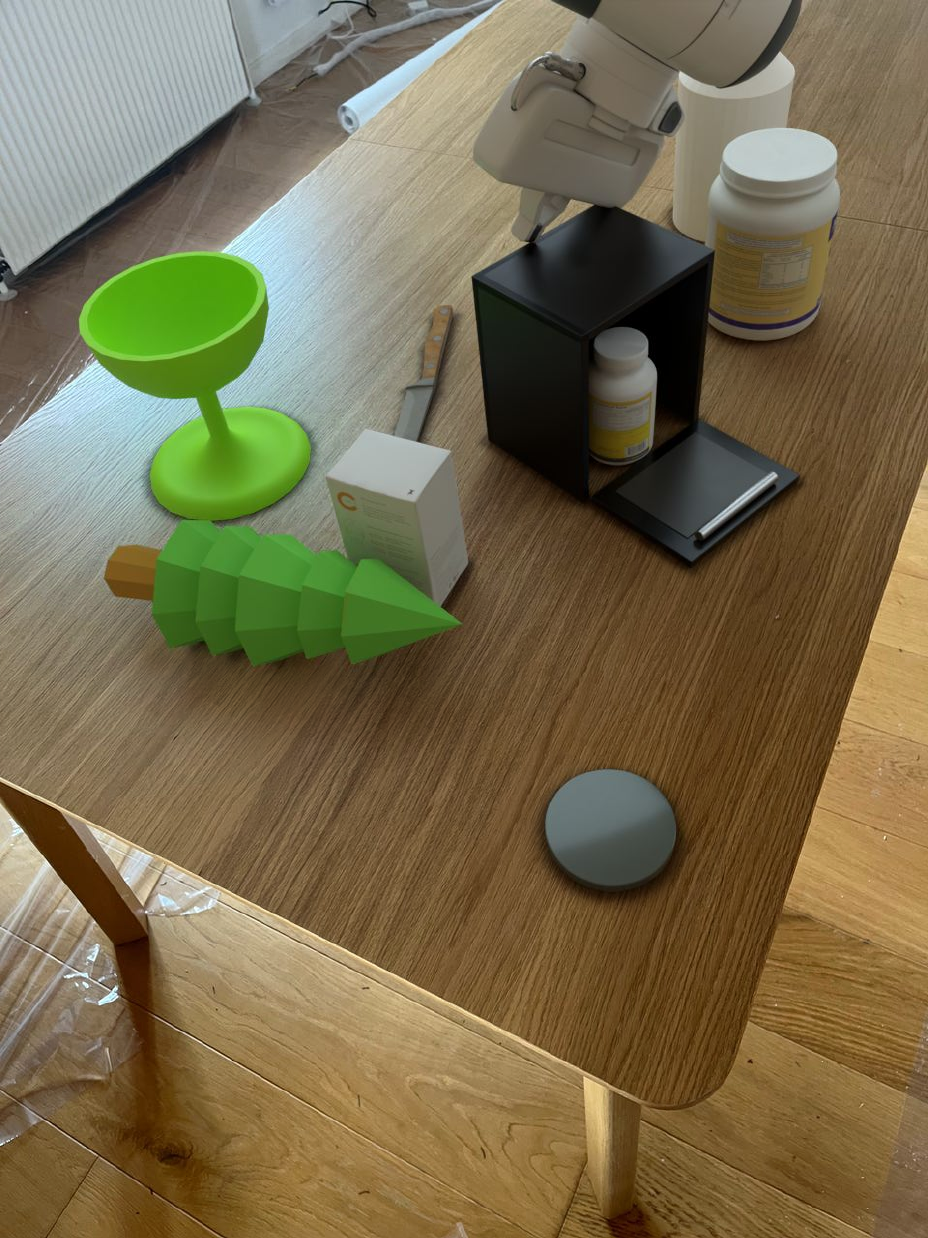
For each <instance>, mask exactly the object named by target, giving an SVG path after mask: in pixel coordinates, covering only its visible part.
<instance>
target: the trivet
mask: <svg viewBox="0 0 928 1238" xmlns="http://www.w3.org/2000/svg"><path fill="white" fill-rule="evenodd" d="M544 836H545V843H546V846H547V850H548V852H549V855H550V856H551V858H552V860H553V862H554V863H555V865H556V866H557V867H558V869H560V870H561V872H563V874H565V875H566V876H567V877H568V878H569V879H571V880H572V881H574V882H575V883H577V884H579V885H581V886H583V887H586V888H588V889H591V890H595V891H599V892H607V893H617V892H626V891H631V890H634V889H637V888H639V887H642V886H644V885H646V884H647V883H649V882H651V881H652V880H654V879H655V878H656V877H658V876H659V875H660V874H661V872H662V871H663V870H664V869H665V868H666V866H667V865H668V863H669V861H670V860H671V858H672V855H673V853H674V851H675V850H674V849H675V845H676V838H677V820H676V817H675V813H674V811H673V808H672V806H671V803H670V802H669V800H668V799H667V797H666V796H665V795H664V793H663V792H662V791H661V790H660V789H659V788H658V787H657V786H655V784H653V783H652V782H651V781H649V780H647V779H646V778H645V777H642V776H641V775H638V774H637V773H633V772H632V771H631V772H630V771H627V770H623V769H618V768H617V769H616V768H599V769H593V770H589V771H586V772H583V773H580V774H578V775H576V776H574V777H572V778H571V779H569V780H568V781H567V782H566V781H565V783H564V784H563V785H561V787H559V789H558V790H557V791H556V792H555V794H554V795H553V797H552V798H551V800H550V801H549V803H548V806H547V808H546V812H545V817H544Z"/></svg>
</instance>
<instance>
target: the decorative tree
mask: <svg viewBox="0 0 928 1238" xmlns="http://www.w3.org/2000/svg"><path fill="white" fill-rule="evenodd" d="M103 579H104V581H105V582H106V584H107V586H108V587H109V589H110V591H111V592H112V594H113V595H114V597H116V598H124V599H133V600H142V601H151V602H152V607H151V616H152V618H153V620H154V623H156V625H157V628H158V629H159V631H160V633H161V634H162V637H163V639H164V640H165V642H166V644H167V646H168V648H169V649H175V648H179V647H185V646H190V645H195V644H200V643H203V642H205V644H206V646H207V648H208V650H209V652H210V654H211V657H214V656H218V655H224V654H227V653H232V652H236V651H240V650H242V649H243V650H244V652H245V653H246V656H247V658H248V660H249V662H250V663H251V665H252V667H257V666H260V665H266V664H269V663H270V664H271V663H276V662H279V661H283V660H285V659H289V658H290V657H294V656H296V655H298V654H301V653H303V652H304V655H305V657H306V659H307V660H309V659H312V658H317V657H319V656H322V655H327V654H329V653H332V652H335V651H338V650H341V649H344V648H345V651H346V654H347V656H348V658H349V661H350V664H351V665H354V664H358V663H362V662H365V661H370V660H371V659H375V658H378V657H380V656H384V655H385V654H387V653H390V652H393V651H396V650H398V649H401V648H404V647H407V646H410V645H412V644H414V643H416V642H417V643H418V642H419V641H422V640H425V639H427V638H431V637H433V636H436V635H437V634H441V633H444V632H446V631H449V630H451V629H454V628H457V627H459V626H460V627H461V626H462V625H463V622H461V621H459V620H458V619H457V618H456V617H454V616H453V615H451V614H450V613H449V612H448V611H446V610H445V609H444V608H443V607H442V606H441V607H440V606H439V605H437V604H436V603H435V602H434V601H432V600H431V599H430V598H428V597H427V596H426V595H425V594H423V593H422V592H421V591H419V590H418V589H417V588H416V587H414V586H413V585H412V584H410V583H409V582H408V581H407V580H405V579H404V578H403V577H401V576H400V575H399V574H398V573H396V572H395V571H394V570H392V569H391V568H390V567H389V566H387V565H386V564H385V563H383V562H382V561H381V560H380V559H361V560H360V562H359V564H358V566H356V565H355V564H353V563H352V562H351V561H350V560H348V557H346V556H345V555H344V554H342V553H341V552H340V551H339V550H337V549H336V550H335V549H334V550H319V551H318V553H317V554H316V553H315V552H313V551H312V550H311V549H310V548H308V547H307V546H306V545H305V544H304V543H302V541H300V540H299V539H298V538H296V537H295V536H294V535H292V534H286V533H285V534H283V533H281V534H278V533H277V534H274V533H271V534H269V533H268V534H267V533H266V534H265V533H264V534H262V536H261V535H260V534H259V533H258V532H257V531H256V530H255V529H254V528H253V526H251V525H250V526H249V525H247V526H244V525H243V526H242V525H238V526H237V525H224V527H223V528H222V530H221V529H220V528H219V527H218V526H216V524H214V523H213V521H210V520H196V519H181V520H180V522H179V523H178V525H177V526H176V528H175V530H173V533H172V534H171V536H170V537H169V539H168V540H167V542H166V543H165V545H164V546H163V548H162V549H158V548H153V547H150V546H145V545H140V544H126V545H118V546H117V547H116V548H115V549H114V551H113V552H112V554H111V555H110V556H109V557H108V559H107V562H106V567H105V571H104V576H103Z"/></svg>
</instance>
